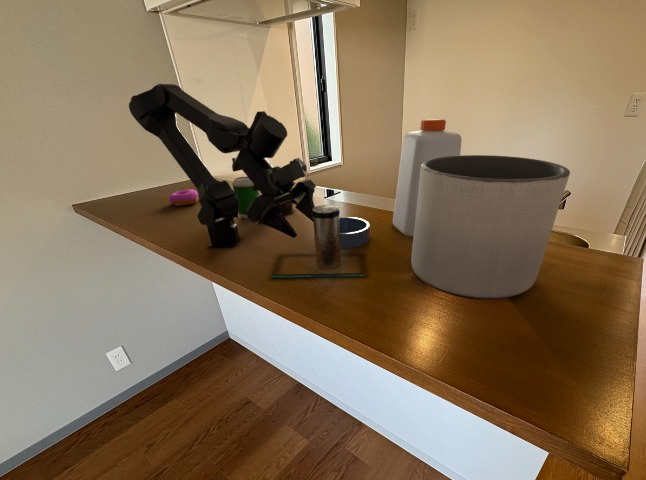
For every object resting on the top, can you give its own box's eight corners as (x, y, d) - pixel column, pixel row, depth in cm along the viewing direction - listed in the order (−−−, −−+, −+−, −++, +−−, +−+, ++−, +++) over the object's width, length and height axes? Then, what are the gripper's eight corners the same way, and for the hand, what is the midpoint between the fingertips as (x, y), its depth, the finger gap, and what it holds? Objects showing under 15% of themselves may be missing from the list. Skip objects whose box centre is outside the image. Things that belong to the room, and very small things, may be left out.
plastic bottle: (408, 241, 85) (418, 122, 70) (388, 223, 98) (393, 118, 83) (458, 235, 89) (478, 120, 74) (432, 218, 101) (445, 117, 86)
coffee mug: (282, 217, 104) (278, 186, 99) (265, 213, 109) (260, 182, 103) (307, 209, 112) (304, 179, 107) (290, 205, 116) (286, 176, 111)
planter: (411, 247, 82) (419, 154, 70) (515, 252, 78) (543, 155, 66) (409, 299, 61) (420, 179, 49) (552, 310, 57) (602, 182, 45)
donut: (182, 199, 125) (178, 187, 123) (206, 200, 124) (203, 188, 122) (165, 207, 117) (161, 194, 114) (191, 207, 115) (187, 195, 113)
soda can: (259, 219, 103) (252, 181, 96) (236, 220, 103) (227, 181, 97) (265, 212, 109) (259, 175, 103) (243, 212, 109) (236, 176, 103)
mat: (271, 279, 69) (271, 277, 69) (281, 255, 79) (281, 254, 79) (364, 277, 69) (364, 275, 69) (362, 254, 79) (362, 252, 79)
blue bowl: (318, 251, 81) (317, 234, 79) (322, 232, 92) (321, 217, 90) (370, 250, 81) (370, 233, 79) (367, 231, 92) (367, 216, 90)
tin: (311, 267, 72) (306, 210, 65) (325, 257, 77) (321, 203, 70) (333, 272, 70) (330, 214, 63) (346, 262, 74) (344, 206, 67)
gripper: (246, 152, 57) (302, 221, 59) (305, 140, 71) (349, 196, 73) (224, 192, 65) (274, 252, 66) (281, 174, 79) (322, 224, 80)
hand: (308, 229), depth 71 cm, fingers open, 9 cm apart
